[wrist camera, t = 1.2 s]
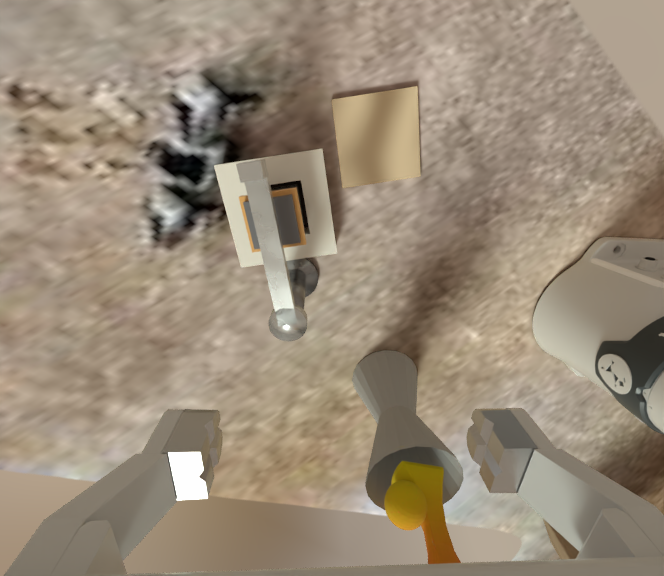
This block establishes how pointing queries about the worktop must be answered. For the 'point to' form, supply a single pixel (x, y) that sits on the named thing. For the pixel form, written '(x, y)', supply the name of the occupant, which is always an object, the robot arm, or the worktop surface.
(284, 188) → the plug
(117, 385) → the worktop surface
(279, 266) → the grey metal bar
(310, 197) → the socket
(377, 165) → the coaster
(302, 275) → the post
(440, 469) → the lava lamp
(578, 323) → the robot arm
